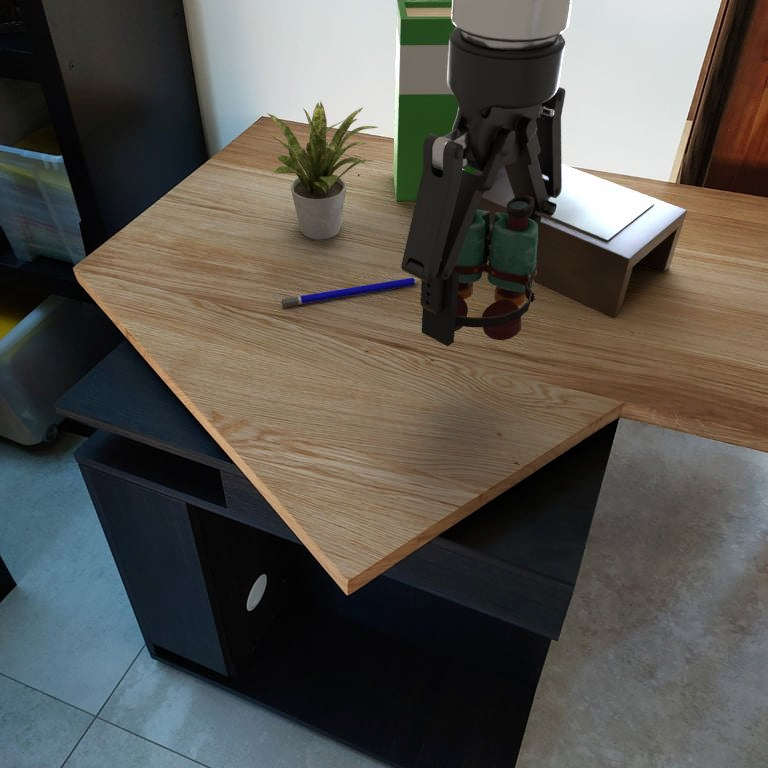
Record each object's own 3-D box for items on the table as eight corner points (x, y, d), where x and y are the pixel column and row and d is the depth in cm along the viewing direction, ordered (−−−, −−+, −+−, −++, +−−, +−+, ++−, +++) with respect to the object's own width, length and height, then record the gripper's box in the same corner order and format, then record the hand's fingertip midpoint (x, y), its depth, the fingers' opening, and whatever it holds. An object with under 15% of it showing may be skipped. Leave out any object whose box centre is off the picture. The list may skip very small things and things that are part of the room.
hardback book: (513, 174, 114) (536, -1, 98) (522, 199, 109) (548, 18, 93) (393, 175, 114) (397, -1, 97) (396, 201, 108) (400, 19, 92)
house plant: (399, 247, 99) (403, 124, 88) (298, 273, 95) (288, 147, 84) (354, 196, 109) (352, 80, 98) (260, 217, 104) (247, 98, 93)
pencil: (282, 308, 89) (282, 301, 89) (281, 304, 90) (280, 297, 89) (422, 285, 93) (422, 278, 92) (420, 281, 94) (420, 274, 93)
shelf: (669, 267, 97) (692, 194, 90) (613, 318, 89) (633, 243, 82) (522, 206, 108) (532, 137, 101) (461, 247, 100) (467, 175, 93)
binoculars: (415, 248, 56) (442, 172, 63) (415, 350, 64) (439, 274, 71) (539, 265, 55) (554, 185, 61) (523, 367, 63) (538, 287, 69)
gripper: (553, -19, 59) (518, 237, 73) (343, 63, 46) (352, 352, 61) (644, 2, 55) (588, 266, 70) (444, 97, 42) (427, 396, 57)
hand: (478, 306), depth 65 cm, fingers closed on binoculars, 10 cm apart
